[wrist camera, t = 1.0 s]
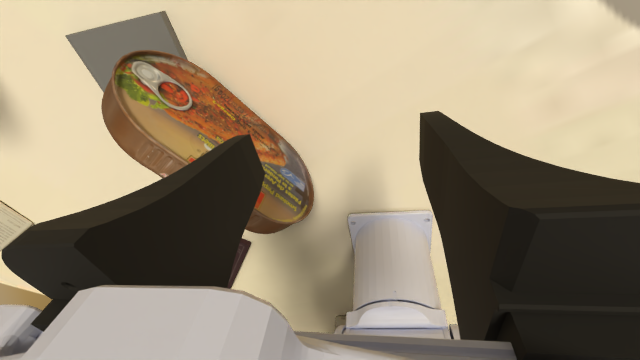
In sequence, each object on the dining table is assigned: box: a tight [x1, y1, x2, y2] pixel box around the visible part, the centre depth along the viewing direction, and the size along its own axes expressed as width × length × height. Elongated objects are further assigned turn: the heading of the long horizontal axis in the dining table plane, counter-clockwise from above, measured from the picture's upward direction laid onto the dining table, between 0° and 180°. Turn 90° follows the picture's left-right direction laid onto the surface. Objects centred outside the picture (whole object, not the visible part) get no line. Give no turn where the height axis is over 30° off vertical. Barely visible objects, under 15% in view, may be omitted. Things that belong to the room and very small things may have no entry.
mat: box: [66, 11, 188, 179], centre depth 24 cm, size 17×8×1 cm, turn 11°
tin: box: [102, 50, 314, 234], centre depth 19 cm, size 15×3×8 cm, turn 43°
